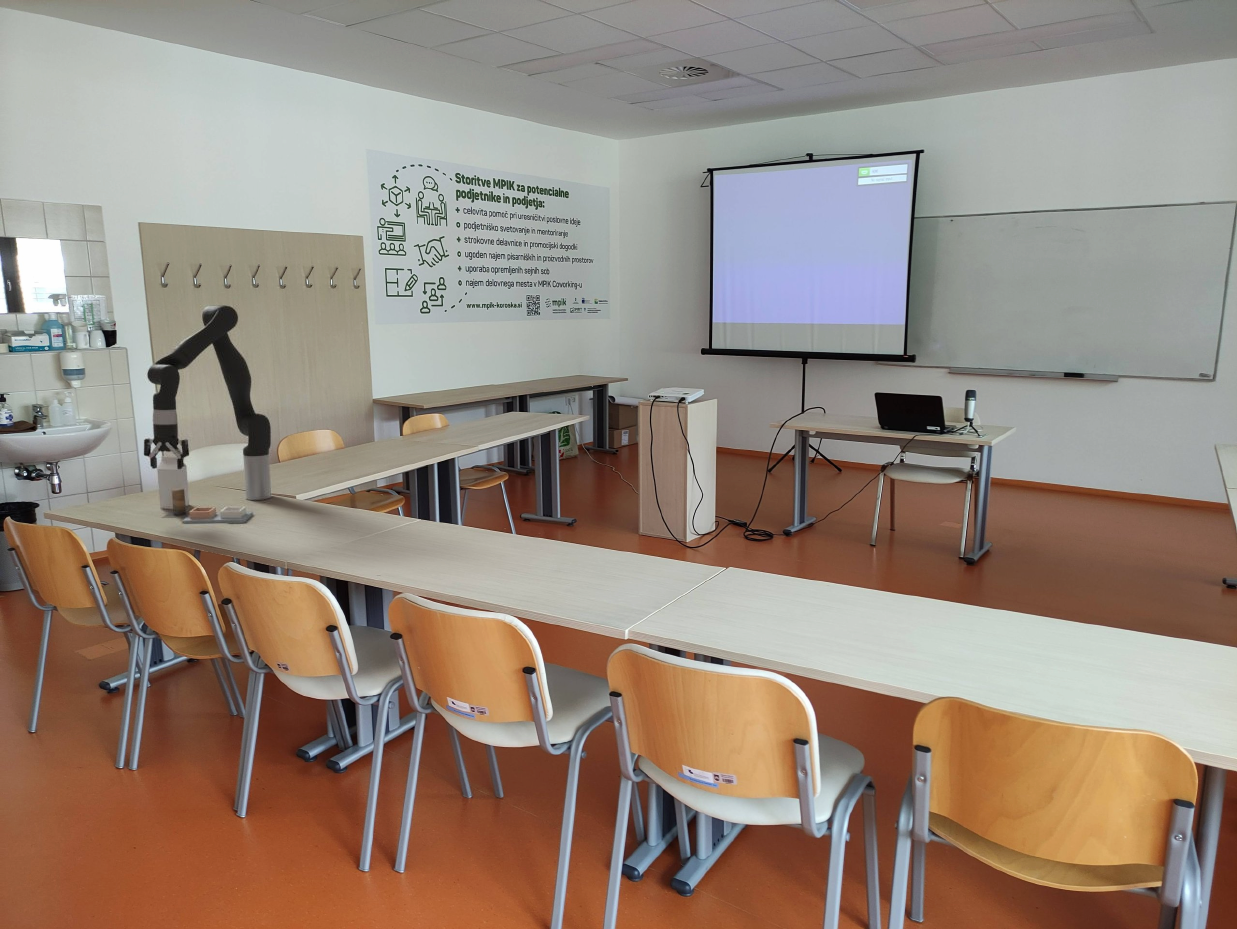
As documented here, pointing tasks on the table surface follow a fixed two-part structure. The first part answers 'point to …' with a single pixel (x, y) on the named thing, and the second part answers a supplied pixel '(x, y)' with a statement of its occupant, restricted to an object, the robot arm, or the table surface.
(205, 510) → the double pet bowl
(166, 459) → the milk carton
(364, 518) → the table surface
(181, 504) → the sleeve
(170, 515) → the feeder mat
